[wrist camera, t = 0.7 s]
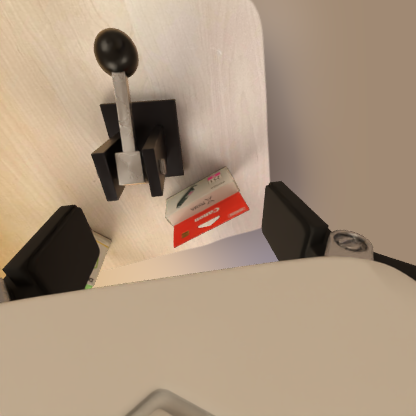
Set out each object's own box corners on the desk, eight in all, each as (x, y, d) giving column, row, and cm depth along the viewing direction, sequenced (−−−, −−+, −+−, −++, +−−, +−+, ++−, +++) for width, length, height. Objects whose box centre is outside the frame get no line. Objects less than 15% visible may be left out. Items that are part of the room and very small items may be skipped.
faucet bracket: (102, 103, 26) (48, 117, 15) (174, 98, 26) (173, 108, 16) (123, 178, 31) (94, 229, 20) (183, 172, 32) (187, 218, 21)
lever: (101, 47, 20) (82, 16, 16) (139, 46, 20) (129, 15, 16) (121, 186, 21) (108, 186, 18) (157, 182, 21) (151, 181, 18)
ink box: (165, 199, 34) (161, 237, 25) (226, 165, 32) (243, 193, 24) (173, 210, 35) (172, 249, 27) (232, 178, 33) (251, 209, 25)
